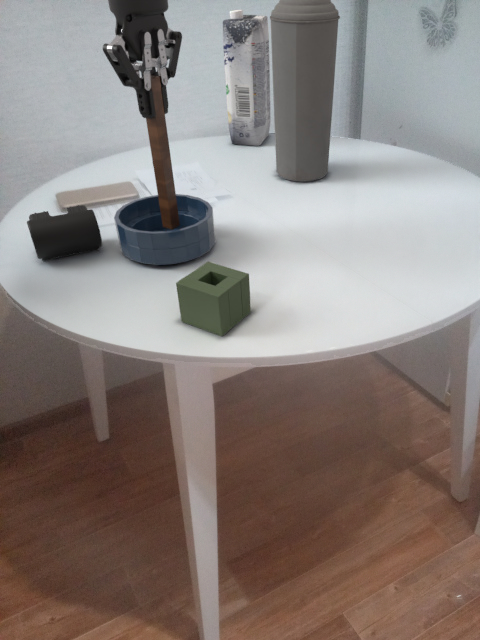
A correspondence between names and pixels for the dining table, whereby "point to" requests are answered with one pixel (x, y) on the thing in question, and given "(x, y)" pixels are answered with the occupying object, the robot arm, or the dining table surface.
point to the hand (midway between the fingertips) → (155, 115)
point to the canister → (303, 85)
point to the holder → (214, 298)
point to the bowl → (165, 231)
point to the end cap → (64, 233)
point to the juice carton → (247, 77)
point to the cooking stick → (162, 159)
